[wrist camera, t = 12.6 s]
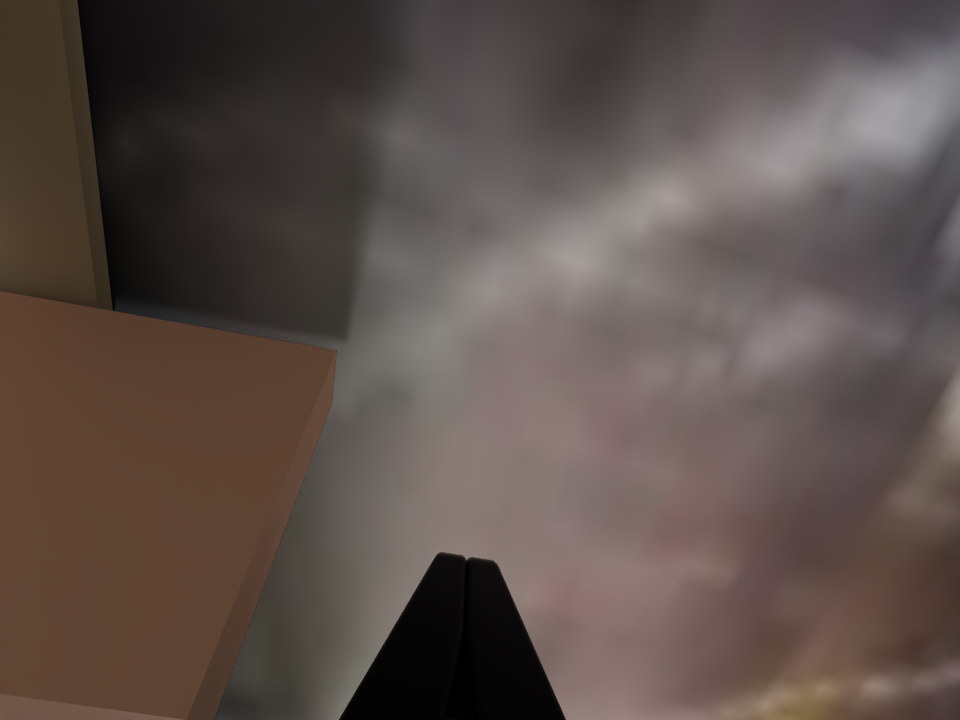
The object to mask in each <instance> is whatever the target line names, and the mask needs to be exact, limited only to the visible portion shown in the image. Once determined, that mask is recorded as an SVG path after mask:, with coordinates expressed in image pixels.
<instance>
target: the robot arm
mask: <svg viewBox="0 0 960 720" xmlns="http://www.w3.org/2000/svg"><path fill="white" fill-rule="evenodd" d="M339 720H566V719H565V716H564V714H563V712H562V710H561V707H560V705H559V703H558V701H557V698H556V696H555V694H554V691H553V689H552V687H551V685H550V682H549V680H548V678H547V676H546V673H545V671H544V669H543V667H542V664H541V662H540V660H539V657H538V655H537V653H536V651H535V648H534V646H533V644H532V642H531V639H530V637H529V635H528V632H527V630H526V628H525V626H524V623H523V621H522V619H521V617H520V614H519V612H518V610H517V608H516V605H515V603H514V601H513V598H512V596H511V594H510V592H509V589H508V587H507V585H506V583H505V580H504V578H503V576H502V573H501V571H500V569H499V567H498V565H497V564H496V563H495V562H494V561H492V560H487V559H481V558H474V557H470V558H468V559H467V561H466V559H465V557H464V556H462V555H456V554H450V553H444V552H440V553H438V554H437V555H436V556H435V558H434V560H433V561H432V563H431V565H430V566H429V568H428V570H427V571H426V573H425V575H424V577H423V578H422V580H421V582H420V583H419V585H418V587H417V588H416V590H415V592H414V593H413V595H412V597H411V599H410V600H409V602H408V604H407V605H406V607H405V609H404V610H403V612H402V614H401V616H400V617H399V619H398V621H397V622H396V624H395V626H394V627H393V629H392V631H391V632H390V634H389V636H388V638H387V639H386V641H385V643H384V644H383V646H382V648H381V649H380V651H379V653H378V654H377V656H376V658H375V660H374V661H373V663H372V665H371V666H370V668H369V670H368V671H367V673H366V675H365V676H364V678H363V680H362V682H361V683H360V685H359V687H358V688H357V690H356V692H355V693H354V695H353V697H352V698H351V700H350V702H349V704H348V705H347V707H346V709H345V710H344V712H343V714H342V715H341V717H340V719H339Z"/></svg>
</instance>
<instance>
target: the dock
mask: <svg viewBox="0 0 960 720" xmlns="http://www.w3.org/2000/svg"><path fill="white" fill-rule="evenodd" d="M0 291H3V292H8V293H14V294H20V295H25V296H31V297H37V298H42V299H48V300H54V301H59V302H65V303H71V304H76V305H82V306H87V307H93V308H99V309H104V310H110V311H113V308H112V299H111V291H110V282H109V273H108V264H107V256H106V247H105V238H104V229H103V221H102V212H101V203H100V194H99V186H98V177H97V168H96V159H95V151H94V142H93V133H92V124H91V116H90V107H89V98H88V89H87V81H86V72H85V63H84V54H83V46H82V37H81V28H80V19H79V11H78V2H77V0H0Z"/></svg>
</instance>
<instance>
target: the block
mask: <svg viewBox="0 0 960 720" xmlns="http://www.w3.org/2000/svg"><path fill="white" fill-rule="evenodd" d="M336 355H337V351H336V350H330V349H325V348H319V347H313V346H308V345H302V344H296V343H291V342H285V341H279V340H274V339H268V338H263V337H257V336H251V335H246V334H240V333H234V332H229V331H223V330H217V329H212V328H206V327H200V326H195V325H189V324H183V323H178V322H172V321H167V320H161V319H155V318H150V317H144V316H138V315H133V314H127V313H121V312H116V311H110V310H104V309H99V308H93V307H87V306H82V305H76V304H71V303H65V302H59V301H54V300H48V299H42V298H37V297H31V296H25V295H20V294H14V293H8V292H3V291H0V720H214V718H215V715H216V713H217V710H218V707H219V705H220V702H221V699H222V697H223V694H224V691H225V688H226V686H227V683H228V680H229V678H230V675H231V672H232V670H233V667H234V664H235V662H236V659H237V656H238V654H239V651H240V648H241V646H242V643H243V640H244V638H245V635H246V632H247V630H248V627H249V624H250V621H251V619H252V616H253V613H254V611H255V608H256V605H257V603H258V600H259V597H260V595H261V592H262V589H263V587H264V584H265V581H266V579H267V576H268V573H269V571H270V568H271V565H272V563H273V560H274V557H275V554H276V552H277V549H278V546H279V544H280V541H281V538H282V536H283V533H284V530H285V528H286V525H287V522H288V520H289V517H290V514H291V512H292V509H293V506H294V504H295V501H296V498H297V496H298V493H299V490H300V487H301V485H302V482H303V479H304V477H305V474H306V471H307V469H308V466H309V463H310V461H311V458H312V455H313V453H314V450H315V447H316V445H317V442H318V439H319V437H320V434H321V431H322V429H323V426H324V423H325V420H326V418H327V415H328V412H329V410H330V407H331V404H332V400H333V389H334V377H335V366H336Z"/></svg>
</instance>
